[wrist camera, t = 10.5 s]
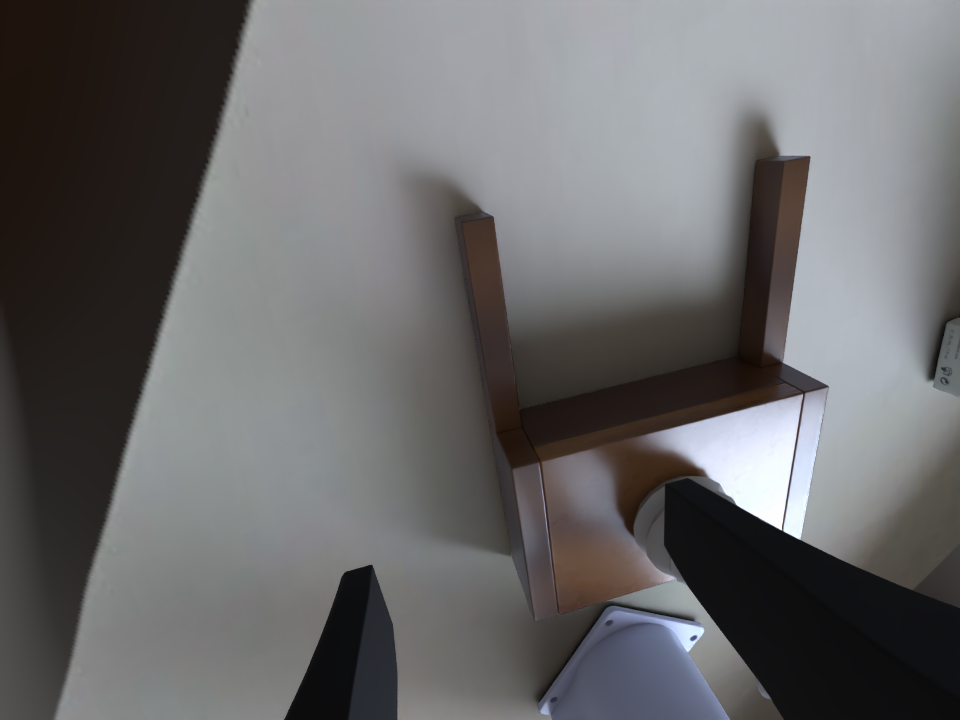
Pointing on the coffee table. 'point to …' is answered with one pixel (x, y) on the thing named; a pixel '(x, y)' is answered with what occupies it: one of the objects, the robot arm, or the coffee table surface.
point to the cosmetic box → (949, 360)
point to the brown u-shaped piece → (649, 422)
